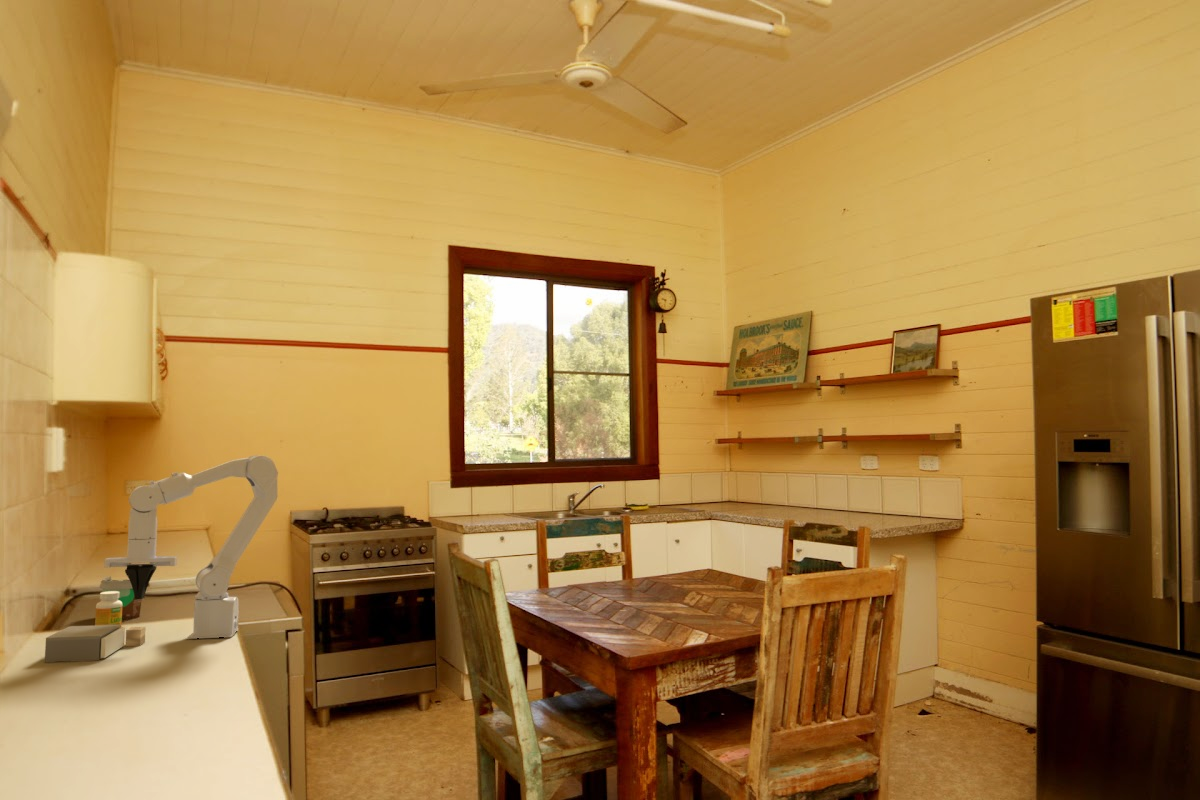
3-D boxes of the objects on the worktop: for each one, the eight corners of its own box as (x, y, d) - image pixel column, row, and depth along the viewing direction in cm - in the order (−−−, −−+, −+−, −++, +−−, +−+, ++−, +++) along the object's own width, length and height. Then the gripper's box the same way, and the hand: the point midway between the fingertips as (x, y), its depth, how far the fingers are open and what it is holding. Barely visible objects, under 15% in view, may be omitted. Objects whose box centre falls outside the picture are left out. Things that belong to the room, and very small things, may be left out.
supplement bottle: (111, 636, 186) (113, 594, 186) (89, 636, 186) (91, 594, 186) (126, 631, 191) (127, 590, 192) (104, 631, 191) (106, 590, 192)
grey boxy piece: (118, 647, 175) (119, 624, 176) (98, 660, 165) (99, 635, 165) (68, 649, 173) (69, 626, 174) (44, 662, 163) (45, 637, 163)
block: (144, 642, 180) (145, 626, 180) (140, 645, 177) (140, 629, 177) (130, 643, 180) (131, 627, 180) (125, 646, 177) (126, 630, 177)
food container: (86, 618, 205) (88, 579, 205) (107, 614, 211) (109, 576, 211) (123, 622, 201) (125, 582, 202) (143, 617, 207) (145, 578, 208)
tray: (124, 645, 176) (124, 627, 176) (104, 657, 165) (105, 638, 165) (73, 647, 173) (74, 629, 174) (50, 660, 163) (51, 640, 163)
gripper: (182, 536, 187) (179, 594, 186) (114, 537, 184) (111, 596, 183) (172, 539, 180) (170, 599, 179) (101, 540, 177) (98, 602, 176)
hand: (139, 598), depth 180 cm, fingers closed
